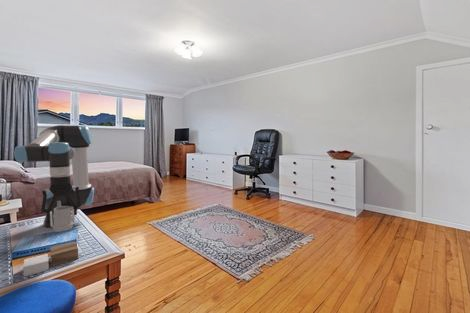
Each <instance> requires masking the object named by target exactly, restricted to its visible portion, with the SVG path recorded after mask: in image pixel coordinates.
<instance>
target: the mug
mask: <svg viewBox="0 0 470 313" xmlns="http://www.w3.org/2000/svg"><path fill="white" fill-rule="evenodd" d="M53 218H54V225H53V227H52V229H53V231H54V232H64V231H69V230H71V229H72V228H73V226H74V223H73V222H72V207H70V206H61V203H60V201H57V207H56V208H54V215H53Z"/></svg>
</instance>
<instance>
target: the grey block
mask: <svg viewBox="0 0 470 313" xmlns="http://www.w3.org/2000/svg"><path fill="white" fill-rule="evenodd" d="M22 269H23V277H28V276H31V275H35V274H38V273H42V272H46V271H49V270H50V269H49V254H48V253H45V254H41V255H37V256H32V257H28V258H25V259H24V260H23V267H22Z"/></svg>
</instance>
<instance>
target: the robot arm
mask: <svg viewBox="0 0 470 313" xmlns="http://www.w3.org/2000/svg"><path fill="white" fill-rule="evenodd" d="M92 141H93V140H92V135H91V130H90V128H89V127H88V126H87V125H68V124H67V125H63V124H61V125H59V124H58V125H52V126H50V127H47V128H45V129H43V130H41V132H39V134H38V136H37V137H36V138H35V139H33V141H31V142H30V143H29V144H27V145H18V146H15V148H14V151H13V157H14V159H15V161H16V162H18V163H34V162H35V163H36V162H38V163H39V162H40V163H41V162H42V163H43V162H49V163H48V164H49V176H50V177H49V182H50V187H49V188H47V189H42V191H41V194H42V202H41V209H40V210H41V212H42V213H45V214H46V215H45V217H44V220H43V228H53V225H54V218H53V215H54V208H56V207H57V201H60V203H61V206H70V207H71V212H72V215H71V216H72V222H73V224H75V222H76V221H75V220H76V219H75V216H77V215H78V208H80V207H82V206H88V205H92V204H93V203H94V195H95V187H92V184H91V183H90V182H89V164H88V149H89V147H90V145H91V144H92V143H93V142H92ZM70 161H71V162H70ZM71 167H72V168H71ZM71 170H72V182H73V185H72V182H71Z"/></svg>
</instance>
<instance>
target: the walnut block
mask: <svg viewBox="0 0 470 313" xmlns="http://www.w3.org/2000/svg"><path fill="white" fill-rule="evenodd" d="M49 248H50V262H51V263H50V264H51V267H52V266H53V267H54V266H56V265H60V264H64V263H67V262H68V263H69V262H71V261H75V260H78V259H79V248H78V244H77V242H76V241H75V240H74V241H70V242H66V243H65V242H64V243H62V244H55V245H53V246H50V247H49Z"/></svg>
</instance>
